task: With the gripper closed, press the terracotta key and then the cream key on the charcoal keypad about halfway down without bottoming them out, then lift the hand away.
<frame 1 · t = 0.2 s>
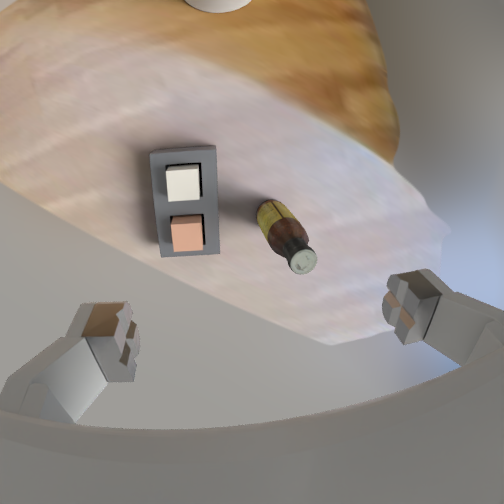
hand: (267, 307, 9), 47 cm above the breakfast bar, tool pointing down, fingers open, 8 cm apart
sauce bottle: (271, 213, 59), on the breakfast bar
keypad: (187, 197, 55), on the breakfast bar
cream key: (183, 182, 47), point 6 cm above the breakfast bar, slide at 0.0 cm
terracotta key: (187, 232, 52), point 6 cm above the breakfast bar, slide at 0.0 cm
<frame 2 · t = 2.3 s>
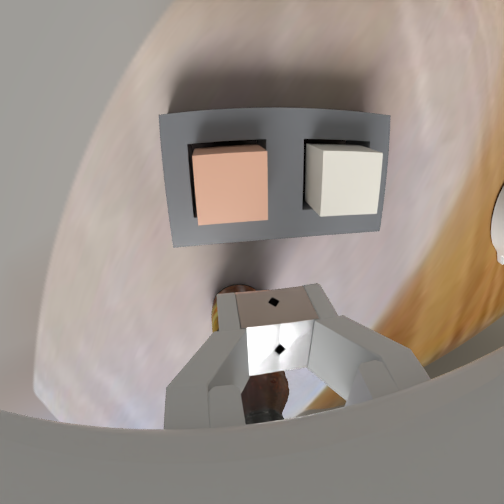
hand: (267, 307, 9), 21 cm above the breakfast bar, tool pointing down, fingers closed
sauce bottle: (237, 304, 35), on the breakfast bar
keypad: (272, 164, 28), on the breakfast bar
cream key: (342, 177, 23), point 6 cm above the breakfast bar, slide at 0.0 cm
terracotta key: (229, 181, 22), point 6 cm above the breakfast bar, slide at 0.0 cm
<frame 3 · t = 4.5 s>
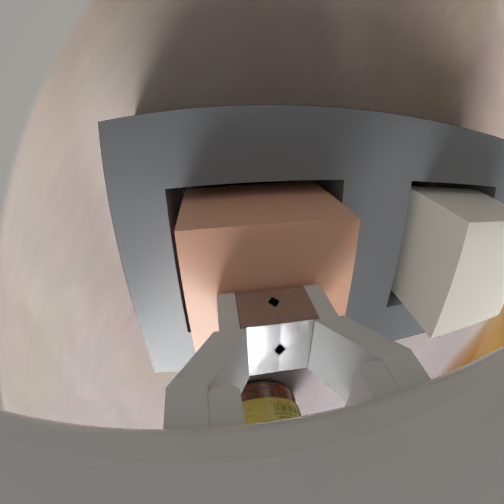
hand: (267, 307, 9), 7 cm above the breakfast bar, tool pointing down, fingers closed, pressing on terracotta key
sauce bottle: (256, 398, 23), on the breakfast bar
keypad: (327, 210, 16), on the breakfast bar
cream key: (461, 255, 11), point 6 cm above the breakfast bar, slide at 0.0 cm
terracotta key: (261, 268, 11), point 5 cm above the breakfast bar, slide at 0.6 cm, touching gripper
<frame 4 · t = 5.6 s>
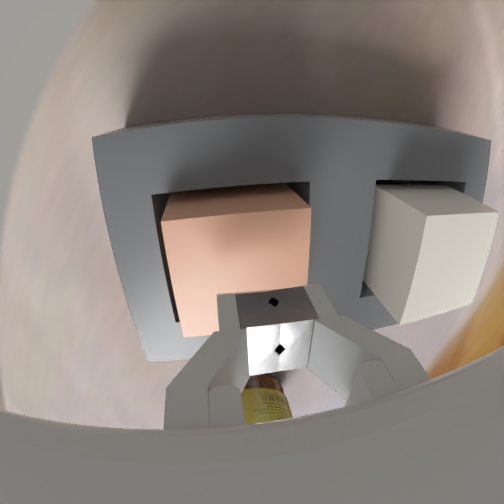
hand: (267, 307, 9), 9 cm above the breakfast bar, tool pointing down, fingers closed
sauce bottle: (247, 390, 24), on the breakfast bar
keypad: (304, 209, 17), on the breakfast bar
cream key: (429, 247, 13), point 6 cm above the breakfast bar, slide at 0.0 cm
terracotta key: (235, 254, 13), point 5 cm above the breakfast bar, slide at 1.4 cm
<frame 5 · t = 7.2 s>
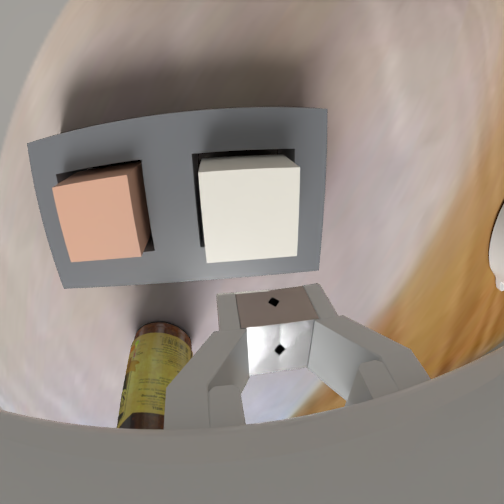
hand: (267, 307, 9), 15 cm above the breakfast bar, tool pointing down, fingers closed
sauce bottle: (164, 341, 29), on the breakfast bar
keypad: (179, 183, 22), on the breakfast bar
cream key: (247, 204, 17), point 6 cm above the breakfast bar, slide at 0.0 cm
terracotta key: (105, 210, 18), point 5 cm above the breakfast bar, slide at 1.4 cm
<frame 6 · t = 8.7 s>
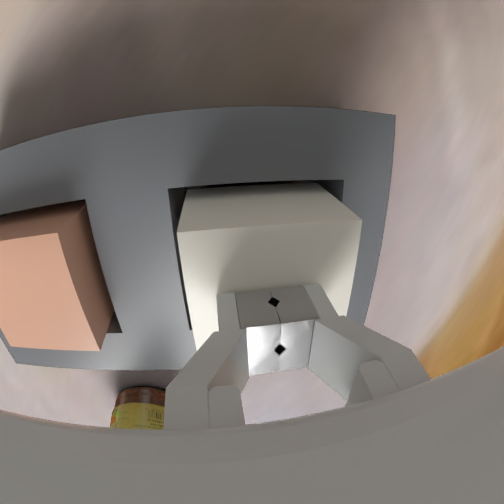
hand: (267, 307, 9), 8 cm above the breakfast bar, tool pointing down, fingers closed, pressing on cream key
sauce bottle: (152, 403, 22), on the breakfast bar
keypad: (158, 221, 15), on the breakfast bar
cream key: (262, 269, 11), point 6 cm above the breakfast bar, slide at 0.5 cm, touching gripper
terracotta key: (46, 273, 11), point 5 cm above the breakfast bar, slide at 1.4 cm
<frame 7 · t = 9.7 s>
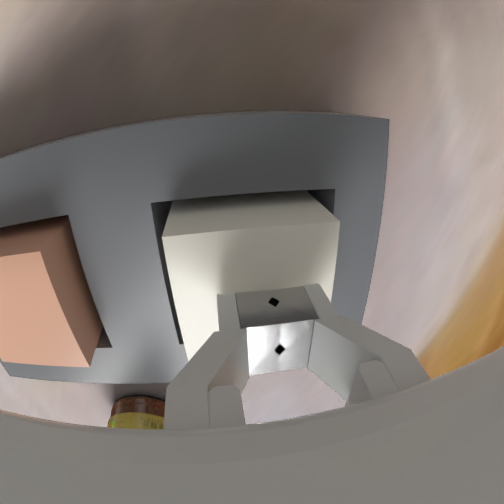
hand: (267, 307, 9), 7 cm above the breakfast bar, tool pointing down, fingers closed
sauce bottle: (148, 411, 22), on the breakfast bar
keypad: (147, 232, 15), on the breakfast bar
cream key: (247, 270, 11), point 5 cm above the breakfast bar, slide at 1.4 cm
terracotta key: (34, 288, 10), point 5 cm above the breakfast bar, slide at 1.4 cm
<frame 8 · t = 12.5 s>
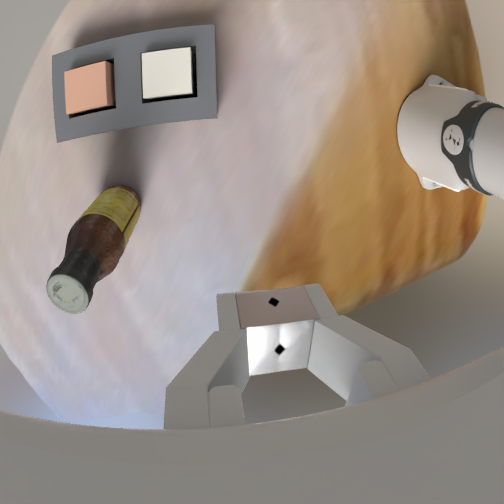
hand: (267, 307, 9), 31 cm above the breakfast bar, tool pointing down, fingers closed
sauce bottle: (121, 206, 38), on the breakfast bar
keypad: (137, 83, 31), on the breakfast bar
cream key: (168, 74, 27), point 5 cm above the breakfast bar, slide at 1.4 cm
terracotta key: (91, 88, 26), point 5 cm above the breakfast bar, slide at 1.4 cm
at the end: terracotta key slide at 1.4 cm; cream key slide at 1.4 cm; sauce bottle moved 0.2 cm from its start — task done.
